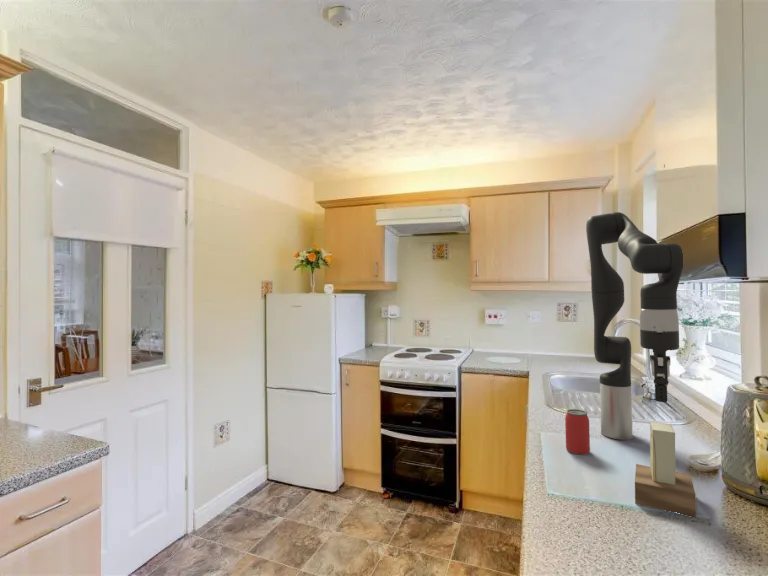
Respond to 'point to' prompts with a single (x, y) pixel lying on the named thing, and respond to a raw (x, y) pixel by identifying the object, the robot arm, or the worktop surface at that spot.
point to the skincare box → (662, 452)
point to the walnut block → (665, 492)
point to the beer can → (577, 432)
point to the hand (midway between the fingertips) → (660, 397)
